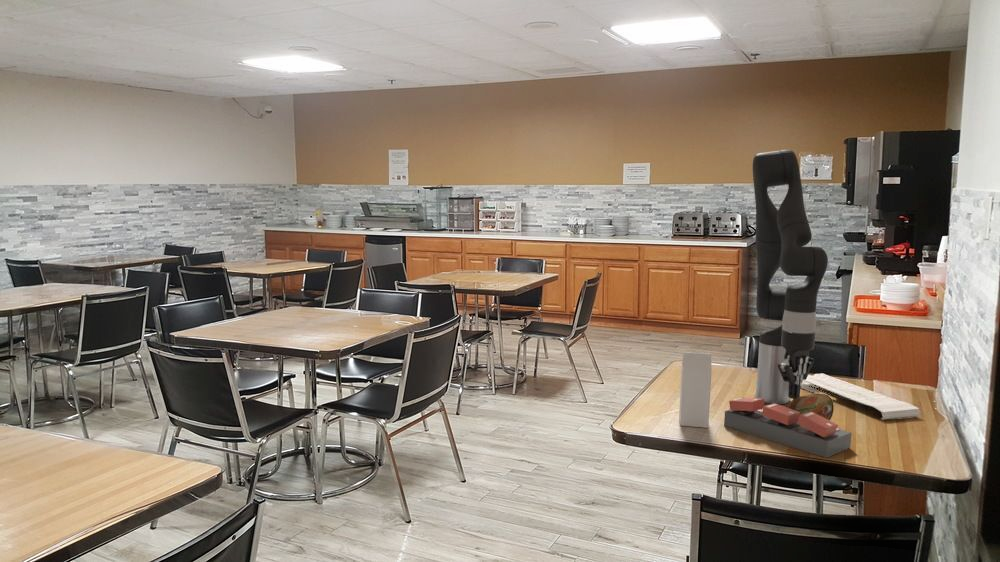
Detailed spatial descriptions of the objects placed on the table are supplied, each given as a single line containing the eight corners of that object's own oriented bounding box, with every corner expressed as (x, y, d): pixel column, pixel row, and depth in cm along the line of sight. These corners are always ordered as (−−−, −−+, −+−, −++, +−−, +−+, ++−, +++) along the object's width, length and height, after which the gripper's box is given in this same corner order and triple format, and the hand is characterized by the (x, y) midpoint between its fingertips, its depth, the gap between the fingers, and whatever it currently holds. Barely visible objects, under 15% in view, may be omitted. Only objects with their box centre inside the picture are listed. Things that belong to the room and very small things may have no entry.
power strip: (748, 418, 198) (749, 401, 197) (850, 448, 176) (851, 429, 175) (724, 425, 191) (725, 408, 190) (826, 458, 169) (828, 438, 168)
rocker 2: (773, 411, 185) (774, 402, 185) (798, 421, 180) (800, 411, 179) (761, 415, 182) (763, 405, 182) (787, 425, 177) (788, 415, 176)
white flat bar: (821, 370, 238) (922, 407, 200) (820, 382, 238) (921, 421, 200) (789, 372, 234) (885, 410, 196) (788, 384, 235) (884, 424, 197)
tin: (794, 431, 187) (796, 400, 186) (784, 428, 190) (786, 396, 189) (833, 423, 194) (836, 393, 193) (823, 420, 197) (825, 390, 196)
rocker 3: (808, 420, 178) (811, 410, 177) (835, 433, 173) (837, 424, 172) (797, 423, 175) (800, 414, 174) (824, 437, 170) (827, 428, 169)
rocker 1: (741, 406, 193) (740, 397, 193) (765, 407, 187) (763, 398, 187) (730, 410, 190) (729, 400, 190) (753, 411, 184) (752, 401, 184)
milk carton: (708, 428, 188) (712, 356, 186) (680, 426, 190) (683, 355, 187) (706, 420, 195) (710, 350, 193) (679, 417, 197) (682, 349, 194)
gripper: (798, 323, 183) (794, 390, 185) (769, 329, 175) (764, 399, 177) (827, 328, 177) (822, 397, 179) (798, 334, 169) (793, 406, 171)
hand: (793, 398), depth 178 cm, fingers closed
